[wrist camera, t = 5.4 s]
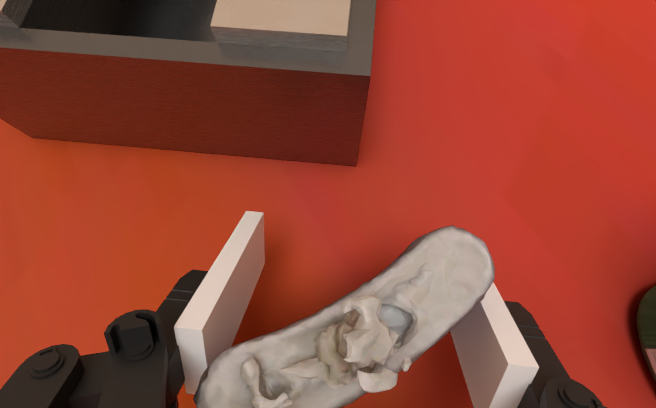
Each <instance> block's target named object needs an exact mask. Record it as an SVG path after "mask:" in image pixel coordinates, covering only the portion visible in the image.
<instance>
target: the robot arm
mask: <svg viewBox="0 0 656 408" xmlns="http://www.w3.org/2000/svg"><path fill="white" fill-rule="evenodd" d="M264 265H265V249H264V213H263V212H252V211H246V212H245V214H244V216H243V217H242V219H241V220H240V222H239V224H238V225H237V227H236V228H235V230H234V232H233V233H232V235H231V236H230V238H229V240H228V241H227V243H226V244H225V246H224V247H223V249H222V251H221V252H220V254H219V255H218V257H217V259H216V260H215V262H214V263H213V265H212V267H211V268H210V270H209V271H199V270H191V271H190V272H189V273H187V274H186V275H184V276H183V277H181V278H180V279H179V281H178V282H177V284H176V285H175V286H174V288H173V290H172V291H171V292H170V293H169V295H168V296H167V297H166V300H164V301H163V303H162V304H161V306H160V307H159V308H158V310H157V311H156V312H154V311H150V310H135V311H132V312H128V313H125V314H124V315H122V316H120V317H118V318H116V319H115V320H114V321H113V322H112V323H111V324H110V325H108V327H107V329H106V331H105V332H104V335H105V338H106V341H107V344H108V347H109V351H108V352H102V353H96V354H90V355H83V356H80V354H79V352H78V349H76V348H75V347H74V346H72V345H66V344H61V345H55V346H51V347H48V348H45V349H43V350H40V351H38V352H37V353H35V354H34V355H32V356H30V357H29V358H28V359H27V360H25V361H24V362H23V363H22V364H21V365H20V366H19V367H18V369H17V370H16V371H15V372H14V374H13V375H12V376H11V377H10V378H9V380H8V381H7V382H6V383H5V385H4V386H3V387H2V388H1V389H0V408H178V406H179V404H178V399H177V395H178V393H179V391H180V389H181V387H182V385H183V383H184V384H185V389H186V394H194V395H195V392H196V391H197V388H198V385H199V381H200V378H201V376H202V374H203V373H204V371H205V370H206V369H207V367H208V366H209V365H210V364H211V363H212V362H213V360H214V359H215V358H216V357H217V356H218V355H219V354H220V353H221V352H222V351H224V350H226V349H229V348H231V346H232V344H233V341H234V339H235V336H236V334H237V331H238V329H239V326H240V324H241V322H242V319H243V317H244V314H245V312H246V309H247V307H248V304H249V302H250V299H251V297H252V294H253V292H254V289H255V287H256V284H257V282H258V279H259V277H260V275H261V272H262V270H263V267H264ZM450 332H451V335H452V339H453V342H454V345H455V348H456V352H457V355H458V358H459V361H460V365H461V368H462V371H463V375H464V378H465V381H466V384H467V388H468V391H469V394H470V397H471V401H472V404H473V407H474V408H607V407H605V406H603V405H602V403H601V402H600V400H599V399H598V398H597V397H596V396H595V394H594V393H593V392H591V391H590V390H589V389H588V388H586V387H585V386H584V385H582V384H580V383H578V382H576V381H574V380H572V379H570V377H569V375H568V374H567V372H566V370H565V369H564V367H563V366H562V364H561V362H560V361H559V359H558V357H557V356H556V354H555V352H554V351H553V349H552V348H551V346H550V344H549V343H548V341H547V340H546V339H545V336H544V334H543V333H542V331H541V330H540V329H539V326H538V325H537V323H536V321H535V320H534V318H533V316H532V315H531V314H530V313H529V312H528V311H527V310H526V309H525V308H524V307H523V306H522V305H521V304H519V303H518V302H509V301H503V299H502V297H501V296H500V294H499V292H498V290H497V288H496V286H495V284H494V283H492V285H491V287H490V288H489V289H488V291H487V292H486V294H485V297H484V299H483V300H482V301H481V302H480V303H479V304H477V305H476V306H475V307H474V309H473V310H472V311H471V312H470V313H469V314H468V315H467V316H466V317H465V318H464V319H463V320H462V321H461V322H460V323H459V324H458V325H456V326H455V327H454V328H453V329H452V330H451V331H450Z"/></svg>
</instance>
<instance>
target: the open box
mask: <svg viewBox="0 0 656 408" xmlns="http://www.w3.org/2000/svg"><path fill="white" fill-rule="evenodd" d="M375 10H376V0H0V119H2V120H4V121H5V122H7V123H9V124H10V125H12V126H14V127H15V128H17V129H19V130H20V131H22V132H24V133H25V134H27V135H29V136H30V137H32V138H42V139H53V140H64V141H76V142H87V143H98V144H110V145H121V146H132V147H144V148H155V149H166V150H178V151H189V152H200V153H212V154H223V155H234V156H245V157H257V158H268V159H279V160H291V161H302V162H313V163H325V164H336V165H347V166H356V164H357V157H358V151H359V145H360V139H361V132H362V126H363V120H364V114H365V107H366V101H367V95H368V89H369V82H370V76H371V63H372V50H373V36H374V23H375Z"/></svg>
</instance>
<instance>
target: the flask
mask: <svg viewBox="0 0 656 408" xmlns="http://www.w3.org/2000/svg"><path fill="white" fill-rule="evenodd" d="M494 274H495V267H494V264H493V260H492V257H491V255H490V253H489V251H488V248H487V246H486V244H485V243H484V242H483V241H482V240H481V239H480V238H478V237H477V236H475V235H473V234H471V233H470V232H468V231H466V230H464V229H463V228H456V227H455V226H453V225H452V226H447V227H443V228H439V229H436V230H434V231H432V232H430V233H427V234H425V235H423V236H421V237H419V238H417V239H416V240H415V241H413V242H412V243H411V244H410V245H409V247H408V248H407V249H406V250H405V251H404V252H403V253H402V254H401V255H400V256H399V257H398V258H397V259H396V260H395V261H393V262H392V263H391V264H390V265H389V266H388V267H387V268H386V269H384V270H383V271H382V272H381V273H380V274H378V275H377V276H376V277H374V278H373V279H371V280H370V281H368V282H365V283H363V284H362V285H361V286H360V287H359V288H358V289H356V290H354V291H352V292H349V293H348V294H346V295H344V296H343V297H341V298H339V299H338V300H336V301H335V302H333V303H331V304H330V305H327V306H325V307H324V308H322V309H321V310H319V311H318V312H316V313H315V314H313V315H311V316H308V317H306V318H304V319H301V320H299V321H296V322H294V323H292V324H290V325H288V326H286V327H284V328H281V329H279V330H276V331H273V332H271V333H268V334H265V335H261V336H258V337H256V338H253V339H250V340H248V341H245V342H242V343H239V344H236V345H235V346H233V347H231V348H229V349H226V350H224V351H222V352H221V353H220V354H219V355H218V356H217V357H216V358H215V359H214V360H213V362H212V363H211V364H210V365H209V366H208V367H207V369H206V370H205V371H204V373H203V374H202V376H201V378H200V381H199V385H198V388H197V391H196V392H195V395H194V402H195V404H196V406H197V408H341V407H343V406H346V405H348V404H351V403H352V402H354V401H355V400H357V399H358V398H359V397H361V396H362V395H364V394H366V393H368V392H370V393H375V392H381V391H384V390H389V389H392V388H393V387H394V386H396V383H397V377H398V374H397V373H398V372H400V371H401V370H403V371H408V369H409V367H410V365H411V364H412V363H413V362H415V361H416V360H417V359H418V358H419V357H420V356H421V355H422V354H423V353H424V352H425V351H426V350H428V349H429V348H431V347H432V346H434V345H435V344H436V343H437V342H438V341H439V340H441V339H442V338H443V337H444V336H445V335H446V334H447V333H448V332H449V331H451V330H452V329H453V328H454V327H455V326H456V325H458V324H459V323H460V322H461V321H462V320H463V319H464V318H465V317H466V316H467V315H468V314H469V313H470V312H471V311H472V310H473V309H474V307H475V306H476V305H477V304H479V303H480V302H481V301H482V300H483V299H484V297H485V294H486V292H487V291H488V289H489V288H490V287H491V285H492V283H493V281H494Z"/></svg>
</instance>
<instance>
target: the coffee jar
mask: <svg viewBox="0 0 656 408" xmlns="http://www.w3.org/2000/svg"><path fill="white" fill-rule="evenodd" d="M636 319H637V330H638V335H639V339H640V345H641V349H642V352H643V355H644V357H645V360H646V363H647V365H648V368H649V370H650V372H651V374H652V376H653V378H654V380H655V382H656V286H654V287H652V288H651V289H650V290H649V291H648V292H647V293H645V295H644V296H643V298H642V299H641V300H640V304H639V307H638V312H637V318H636Z"/></svg>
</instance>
